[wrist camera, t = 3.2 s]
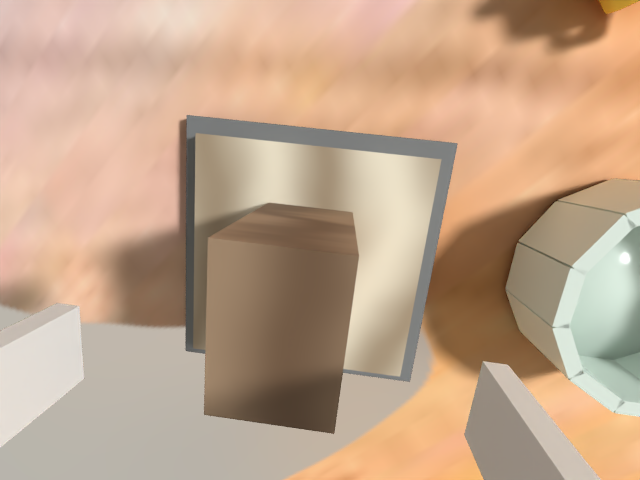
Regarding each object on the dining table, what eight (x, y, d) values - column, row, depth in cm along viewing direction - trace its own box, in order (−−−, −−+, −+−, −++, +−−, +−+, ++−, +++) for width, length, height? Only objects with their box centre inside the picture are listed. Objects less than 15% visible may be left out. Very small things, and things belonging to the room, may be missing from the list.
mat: (190, 344, 24) (185, 351, 24) (192, 116, 20) (186, 115, 20) (407, 374, 24) (409, 381, 23) (453, 143, 20) (457, 143, 19)
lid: (199, 340, 23) (96, 469, 14) (202, 134, 20) (68, 111, 10) (397, 367, 23) (437, 522, 13) (436, 159, 19) (529, 160, 10)
